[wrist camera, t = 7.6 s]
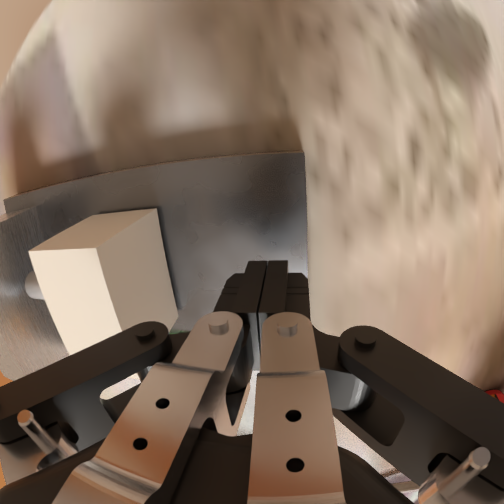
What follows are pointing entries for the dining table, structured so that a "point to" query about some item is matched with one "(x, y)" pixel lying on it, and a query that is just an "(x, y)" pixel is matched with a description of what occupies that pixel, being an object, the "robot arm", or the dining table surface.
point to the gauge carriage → (103, 277)
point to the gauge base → (172, 231)
